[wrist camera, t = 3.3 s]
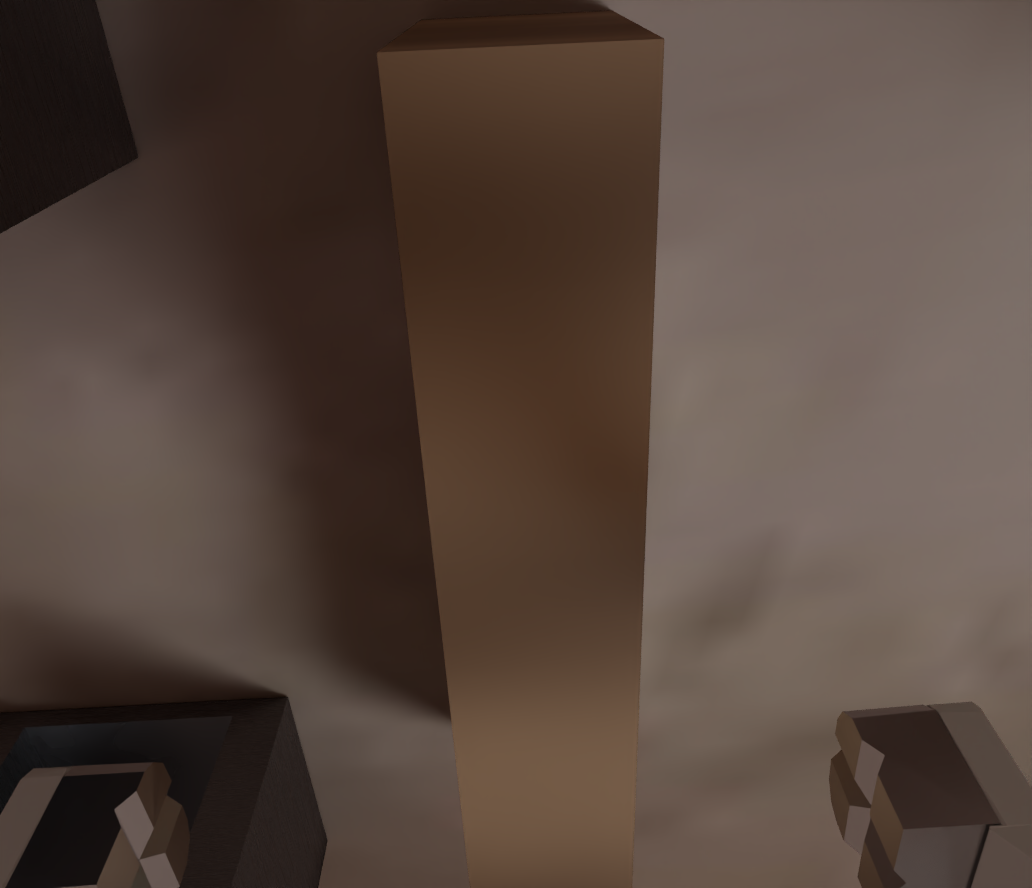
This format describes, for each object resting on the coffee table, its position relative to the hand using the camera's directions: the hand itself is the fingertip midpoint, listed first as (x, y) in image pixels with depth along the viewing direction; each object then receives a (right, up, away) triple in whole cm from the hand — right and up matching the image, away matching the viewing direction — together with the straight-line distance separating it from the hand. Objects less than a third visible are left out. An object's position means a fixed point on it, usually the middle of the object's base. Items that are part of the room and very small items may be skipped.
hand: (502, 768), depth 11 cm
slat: (+1, +4, +7) cm, 8 cm away
